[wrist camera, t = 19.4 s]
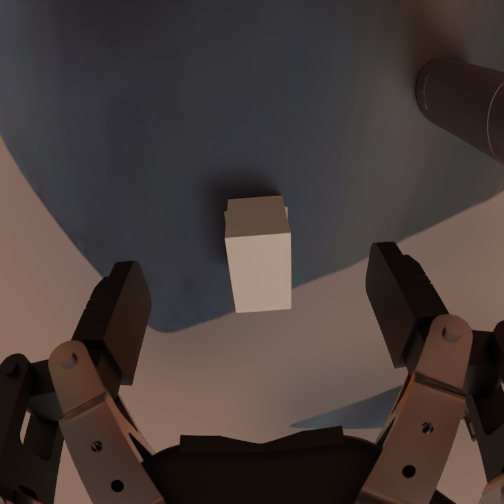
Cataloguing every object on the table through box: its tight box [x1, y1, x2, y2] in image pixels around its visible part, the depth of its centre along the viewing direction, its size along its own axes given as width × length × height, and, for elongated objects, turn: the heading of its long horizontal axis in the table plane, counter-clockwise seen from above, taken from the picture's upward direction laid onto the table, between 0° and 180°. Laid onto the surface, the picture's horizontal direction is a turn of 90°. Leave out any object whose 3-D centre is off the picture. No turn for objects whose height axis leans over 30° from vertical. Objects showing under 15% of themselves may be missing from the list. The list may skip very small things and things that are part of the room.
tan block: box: [225, 195, 291, 313], centre depth 40 cm, size 7×11×9 cm, turn 5°
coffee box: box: [462, 402, 477, 442], centre depth 74 cm, size 9×6×16 cm
